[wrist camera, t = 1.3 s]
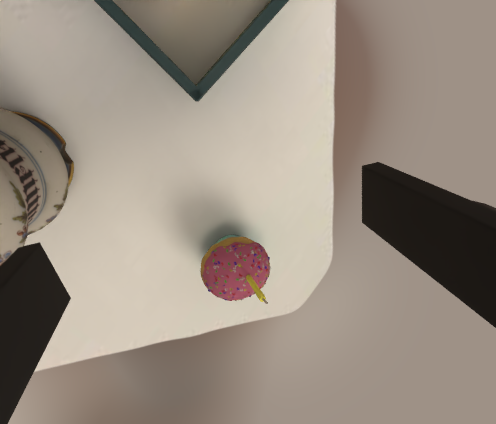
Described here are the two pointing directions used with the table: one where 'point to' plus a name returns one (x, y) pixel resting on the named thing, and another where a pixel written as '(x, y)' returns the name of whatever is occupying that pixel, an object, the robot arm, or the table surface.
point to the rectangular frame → (217, 69)
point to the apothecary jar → (29, 178)
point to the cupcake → (235, 268)
